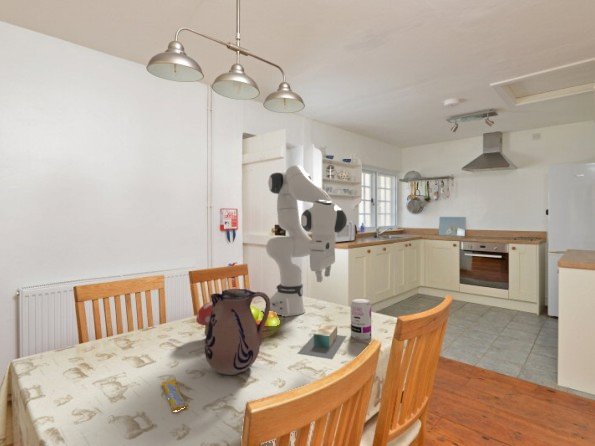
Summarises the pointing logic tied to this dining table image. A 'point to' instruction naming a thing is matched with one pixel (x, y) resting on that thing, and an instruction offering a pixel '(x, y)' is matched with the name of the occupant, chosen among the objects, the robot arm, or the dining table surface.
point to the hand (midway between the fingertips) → (323, 278)
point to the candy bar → (174, 394)
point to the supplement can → (361, 319)
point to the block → (325, 336)
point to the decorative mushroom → (204, 315)
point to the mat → (322, 348)
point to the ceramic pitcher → (234, 331)
